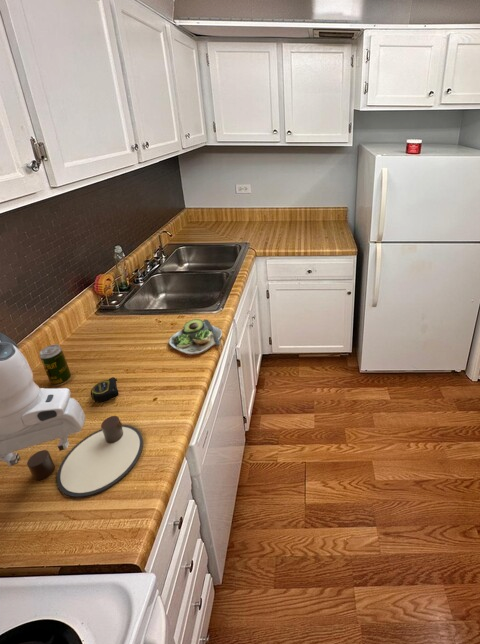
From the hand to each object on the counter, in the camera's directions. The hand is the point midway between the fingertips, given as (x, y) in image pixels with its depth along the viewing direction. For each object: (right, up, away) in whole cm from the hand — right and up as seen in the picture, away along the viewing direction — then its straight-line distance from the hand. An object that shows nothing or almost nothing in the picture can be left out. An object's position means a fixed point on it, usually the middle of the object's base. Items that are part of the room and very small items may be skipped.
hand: (40, 454), depth 76 cm
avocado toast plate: (+19, +13, +48) cm, 53 cm away
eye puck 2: (+11, -1, +10) cm, 15 cm away
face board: (+11, -4, +5) cm, 13 cm away
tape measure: (+1, +3, +23) cm, 24 cm away
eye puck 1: (-1, -5, +2) cm, 6 cm away
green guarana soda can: (-17, +5, +29) cm, 34 cm away
